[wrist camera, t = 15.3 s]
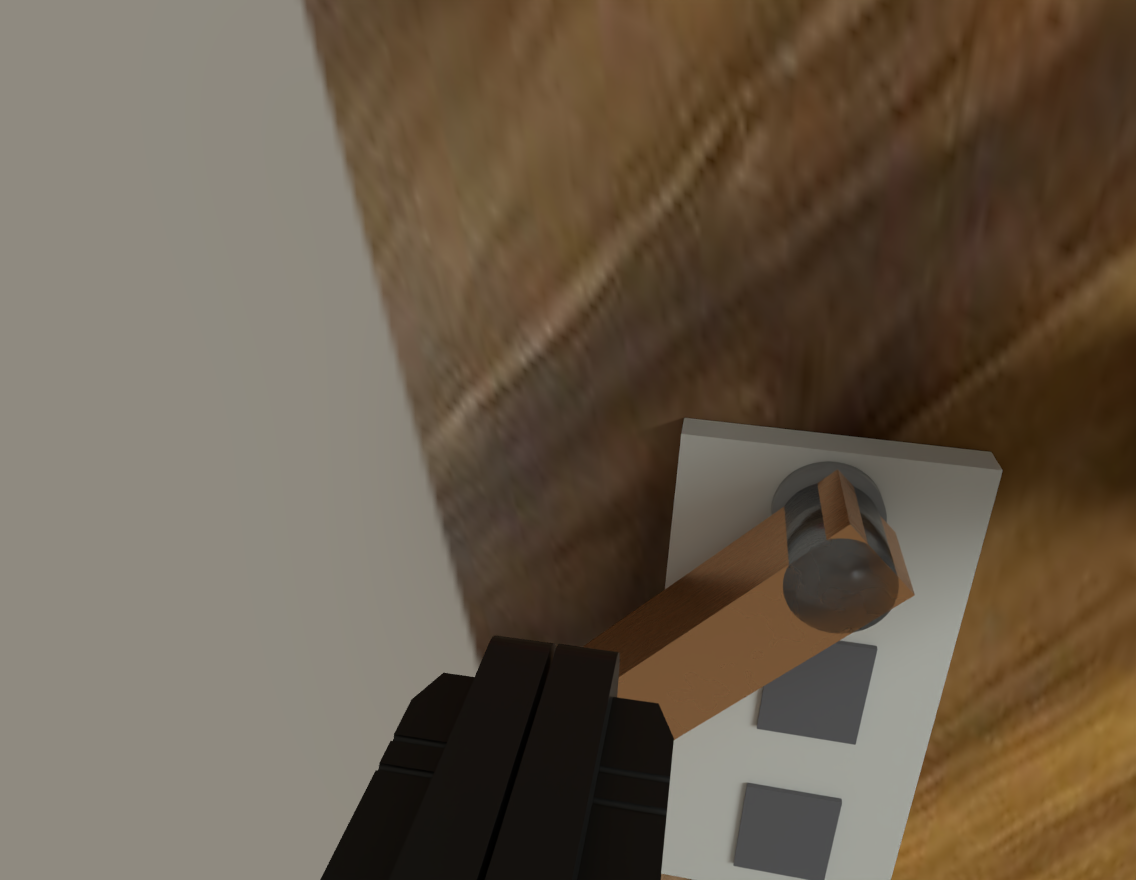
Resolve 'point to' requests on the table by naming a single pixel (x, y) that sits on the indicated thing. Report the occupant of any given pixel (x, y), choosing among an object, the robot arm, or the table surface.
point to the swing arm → (761, 605)
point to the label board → (822, 661)
